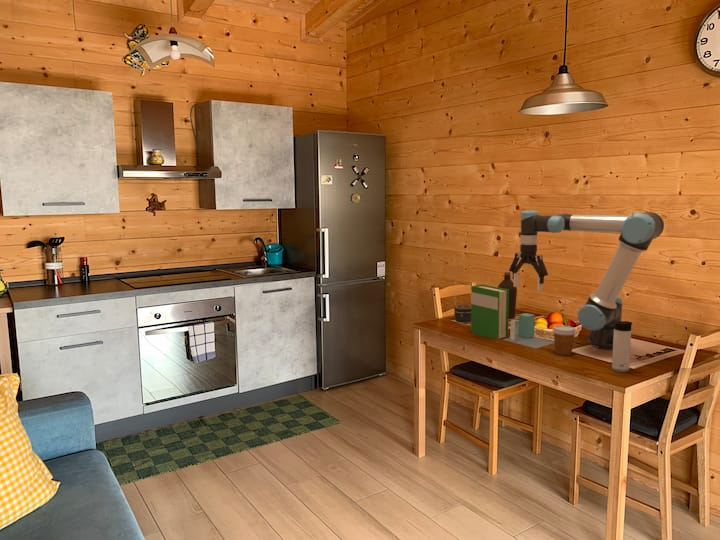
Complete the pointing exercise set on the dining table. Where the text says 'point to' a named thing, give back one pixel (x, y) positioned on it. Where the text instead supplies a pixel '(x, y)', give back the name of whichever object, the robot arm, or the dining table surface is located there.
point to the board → (532, 342)
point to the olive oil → (510, 293)
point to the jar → (462, 313)
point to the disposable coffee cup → (563, 339)
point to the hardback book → (489, 311)
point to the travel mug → (621, 346)
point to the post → (514, 331)
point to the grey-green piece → (526, 325)
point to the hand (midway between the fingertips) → (527, 288)
